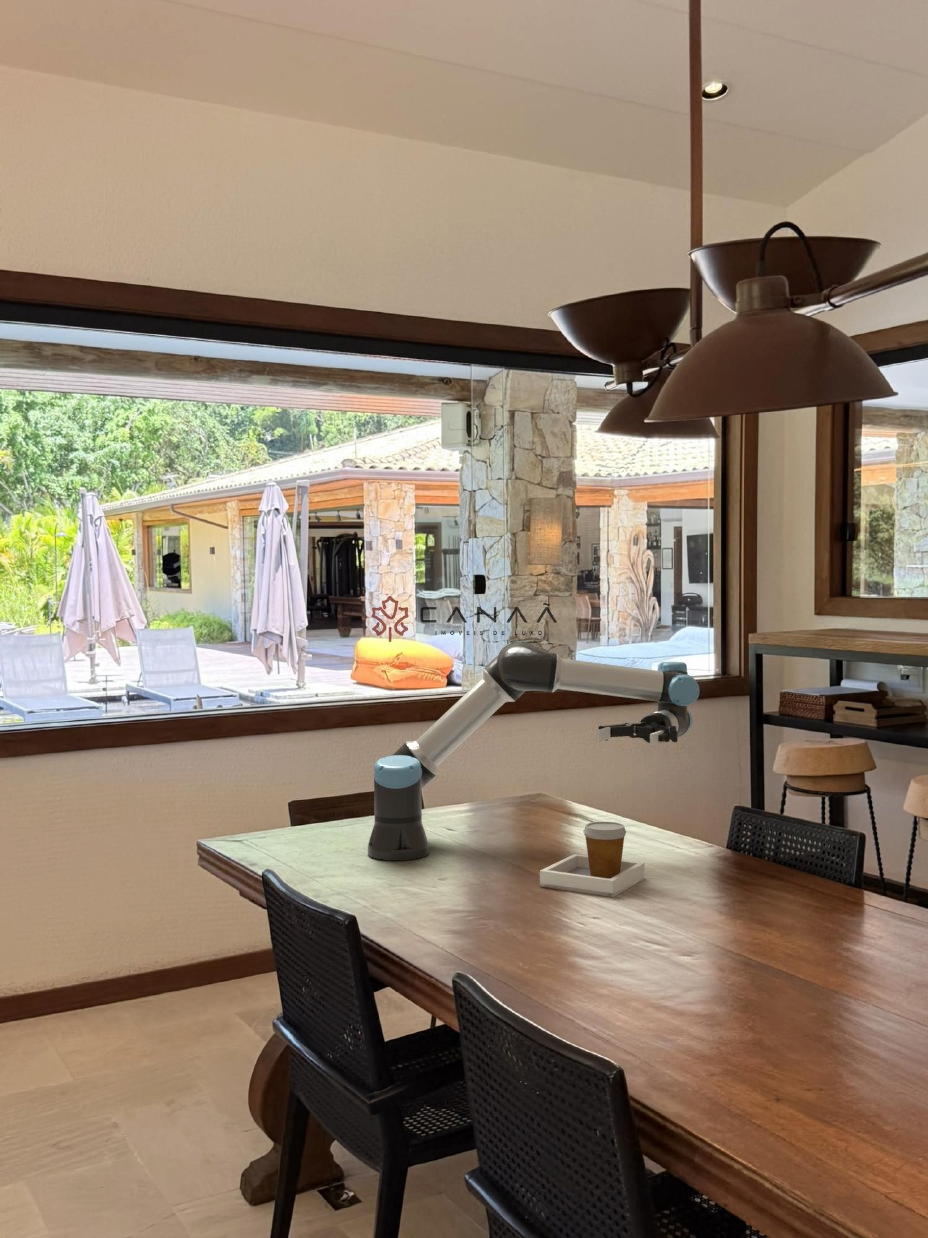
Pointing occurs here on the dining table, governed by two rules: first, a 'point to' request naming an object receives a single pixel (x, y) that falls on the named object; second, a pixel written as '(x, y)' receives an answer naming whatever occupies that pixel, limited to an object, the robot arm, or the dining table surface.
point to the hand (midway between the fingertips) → (624, 738)
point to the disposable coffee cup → (604, 848)
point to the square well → (590, 877)
